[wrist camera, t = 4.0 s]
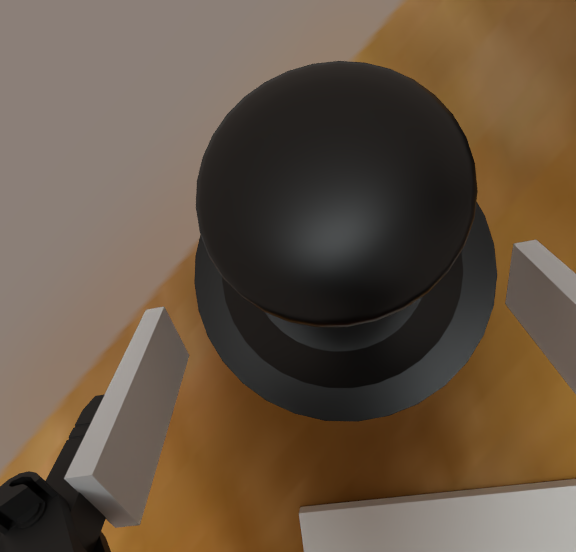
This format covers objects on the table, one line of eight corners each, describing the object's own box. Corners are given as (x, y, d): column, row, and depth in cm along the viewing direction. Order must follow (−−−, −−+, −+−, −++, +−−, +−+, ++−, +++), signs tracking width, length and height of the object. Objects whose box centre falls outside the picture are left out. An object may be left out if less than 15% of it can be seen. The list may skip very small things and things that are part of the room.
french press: (327, 411, 27) (235, 775, 4) (247, 309, 29) (-99, 191, 6) (454, 303, 27) (1039, 91, 4) (364, 210, 29) (434, -262, 6)
